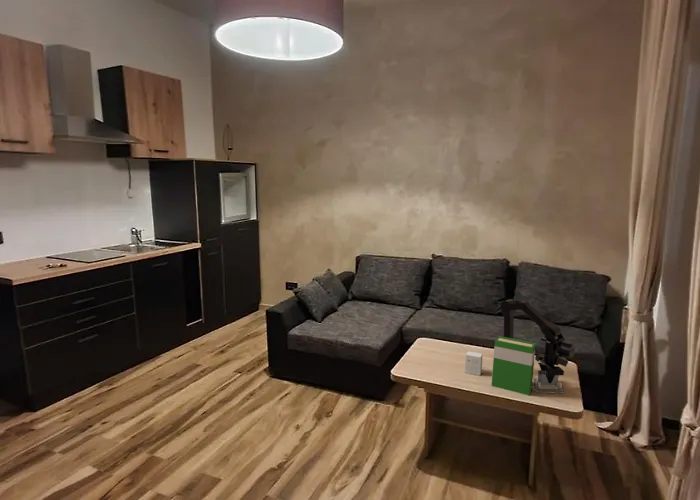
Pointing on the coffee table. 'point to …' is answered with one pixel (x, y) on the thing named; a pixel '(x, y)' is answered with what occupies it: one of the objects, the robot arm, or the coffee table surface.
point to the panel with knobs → (546, 387)
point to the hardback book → (513, 365)
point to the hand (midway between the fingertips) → (547, 380)
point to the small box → (473, 363)
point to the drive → (543, 378)
